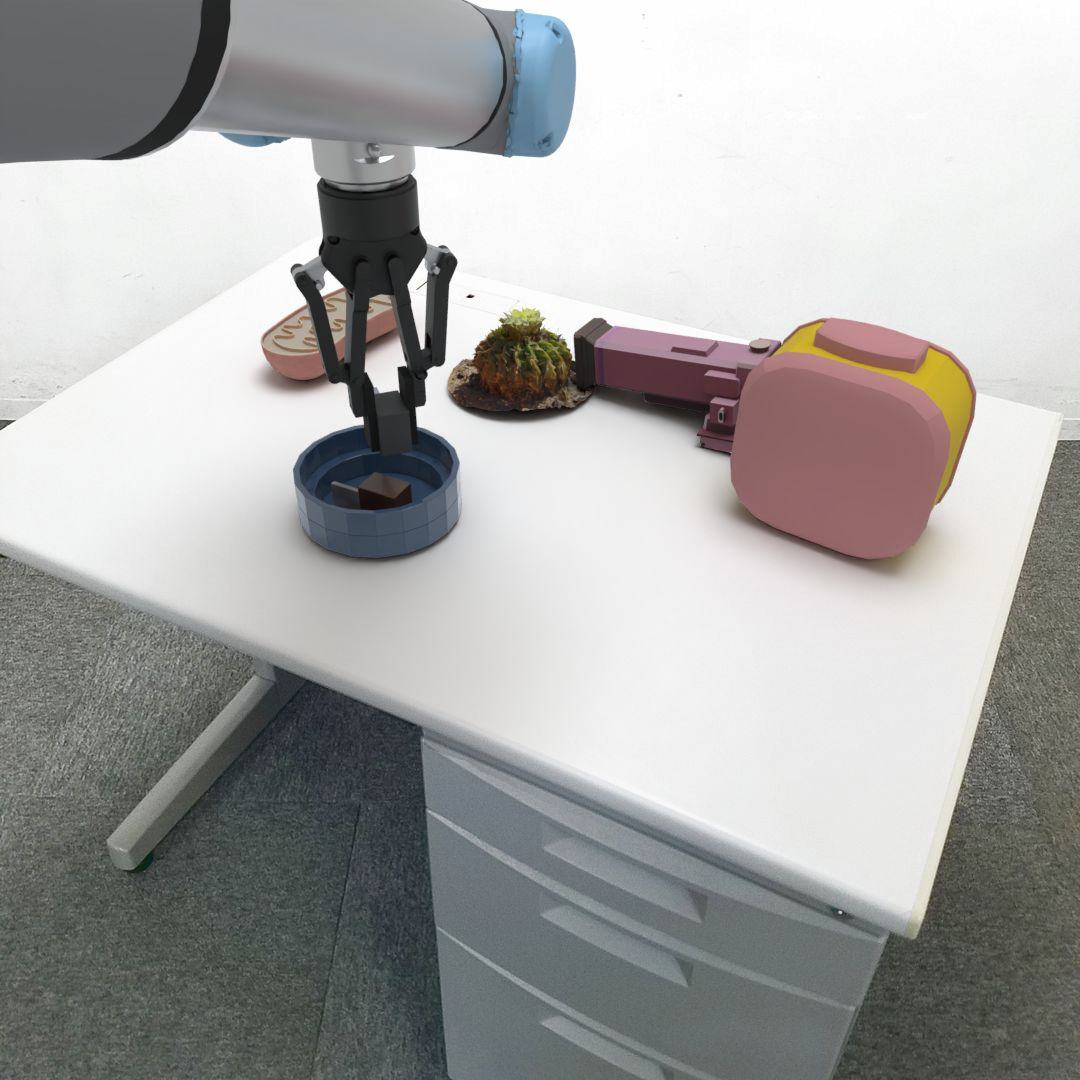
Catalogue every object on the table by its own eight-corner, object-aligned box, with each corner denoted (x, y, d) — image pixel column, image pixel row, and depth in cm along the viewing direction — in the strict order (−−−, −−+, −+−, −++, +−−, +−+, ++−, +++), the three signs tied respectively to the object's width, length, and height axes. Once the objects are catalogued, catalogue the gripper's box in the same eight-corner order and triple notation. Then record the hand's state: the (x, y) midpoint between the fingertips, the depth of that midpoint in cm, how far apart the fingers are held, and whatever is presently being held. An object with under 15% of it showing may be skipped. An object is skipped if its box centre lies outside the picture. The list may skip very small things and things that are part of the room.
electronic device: (608, 381, 118) (604, 303, 112) (828, 420, 105) (836, 334, 100) (564, 420, 110) (557, 338, 105) (795, 467, 98) (802, 376, 92)
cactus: (574, 349, 120) (577, 275, 114) (611, 413, 108) (617, 333, 102) (437, 362, 117) (433, 286, 111) (460, 429, 105) (457, 348, 99)
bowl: (378, 585, 84) (372, 535, 81) (268, 518, 92) (258, 470, 88) (493, 507, 94) (492, 460, 90) (384, 452, 101) (380, 406, 98)
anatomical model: (311, 401, 109) (305, 362, 106) (245, 380, 113) (238, 341, 110) (426, 325, 125) (424, 289, 122) (365, 309, 129) (361, 273, 126)
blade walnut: (413, 519, 91) (411, 482, 88) (397, 535, 89) (394, 498, 86) (343, 496, 94) (339, 460, 91) (326, 511, 92) (321, 475, 89)
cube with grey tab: (412, 451, 86) (409, 411, 84) (381, 457, 85) (377, 416, 83) (391, 408, 92) (387, 369, 89) (362, 413, 91) (357, 374, 89)
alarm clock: (939, 525, 93) (1002, 341, 81) (904, 586, 85) (967, 394, 73) (761, 463, 101) (794, 287, 89) (715, 514, 93) (744, 331, 81)
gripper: (266, 203, 67) (311, 479, 82) (482, 180, 72) (488, 445, 86) (252, 170, 73) (296, 435, 87) (453, 151, 77) (463, 405, 92)
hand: (391, 440), depth 87 cm, fingers closed on cube with grey tab, 3 cm apart
